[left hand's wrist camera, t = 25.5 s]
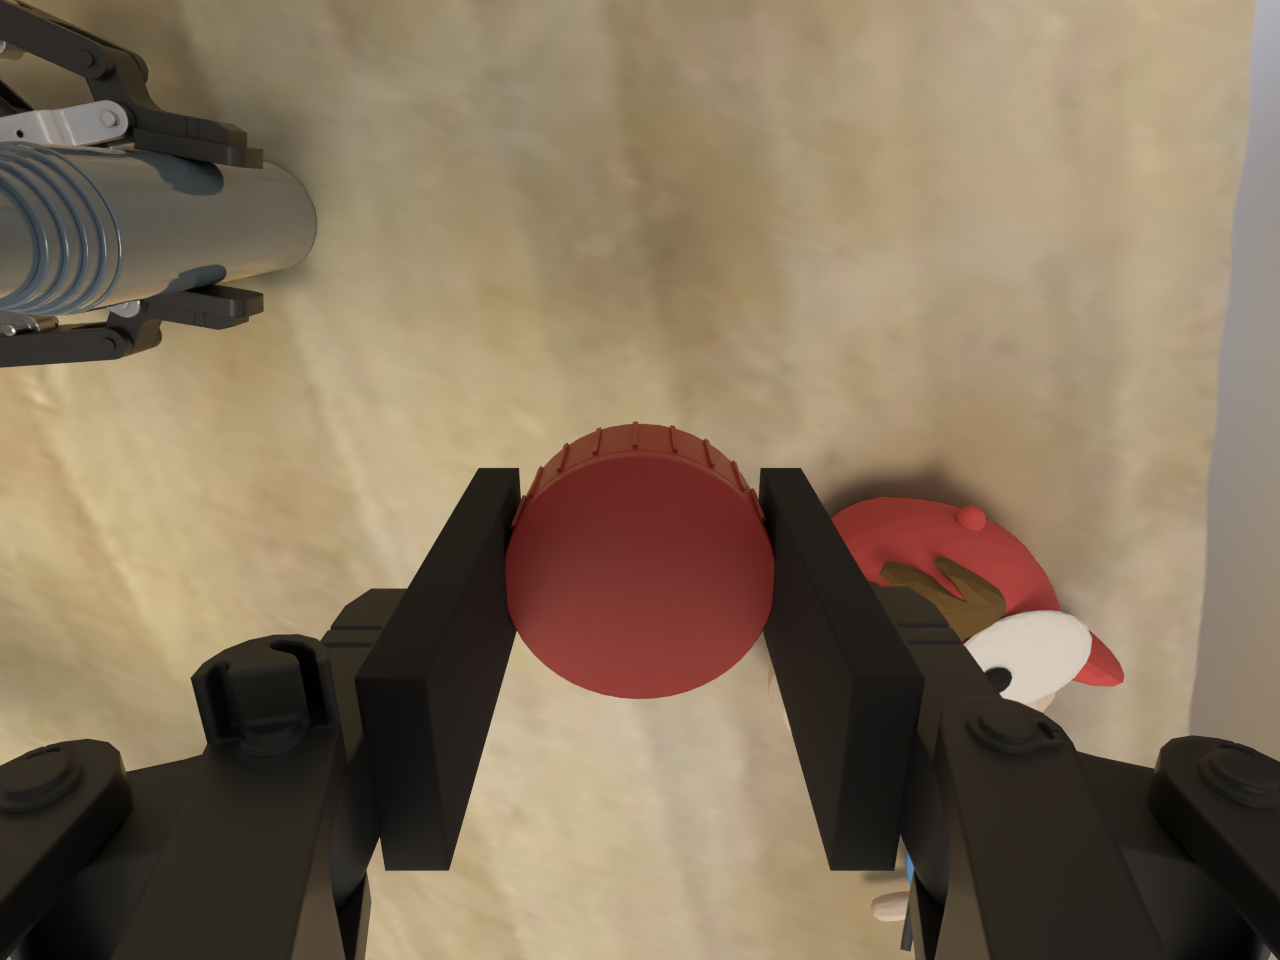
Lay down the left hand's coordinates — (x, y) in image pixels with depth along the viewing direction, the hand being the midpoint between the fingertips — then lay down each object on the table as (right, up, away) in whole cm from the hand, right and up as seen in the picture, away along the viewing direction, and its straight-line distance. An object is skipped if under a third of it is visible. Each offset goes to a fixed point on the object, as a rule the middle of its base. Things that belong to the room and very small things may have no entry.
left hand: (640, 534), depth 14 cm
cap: (0, -1, -1) cm, 2 cm away
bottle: (-18, +13, +21) cm, 30 cm away
